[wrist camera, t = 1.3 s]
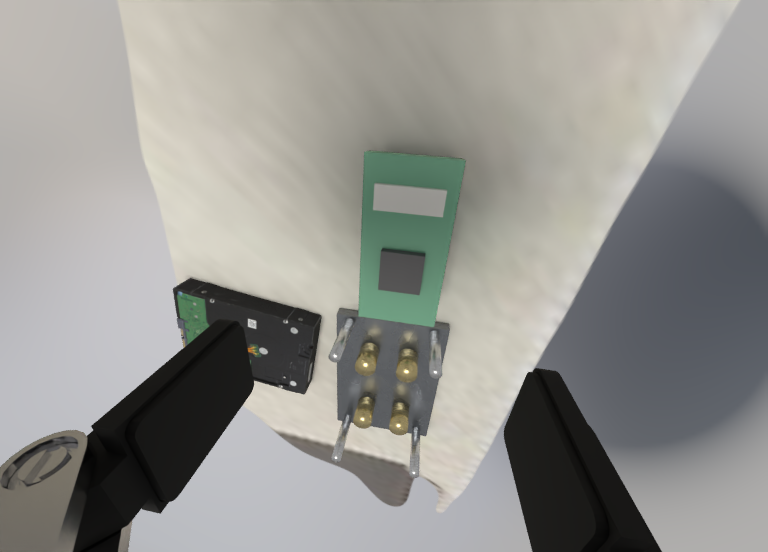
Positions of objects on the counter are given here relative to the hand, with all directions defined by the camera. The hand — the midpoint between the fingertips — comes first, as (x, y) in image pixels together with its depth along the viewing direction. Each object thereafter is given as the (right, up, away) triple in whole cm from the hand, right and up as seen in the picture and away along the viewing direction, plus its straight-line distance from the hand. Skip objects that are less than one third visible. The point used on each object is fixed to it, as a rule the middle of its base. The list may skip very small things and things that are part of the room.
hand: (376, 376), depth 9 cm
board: (+2, +6, +12) cm, 13 cm away
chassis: (+1, -8, +22) cm, 23 cm away
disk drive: (-14, -3, +23) cm, 27 cm away
